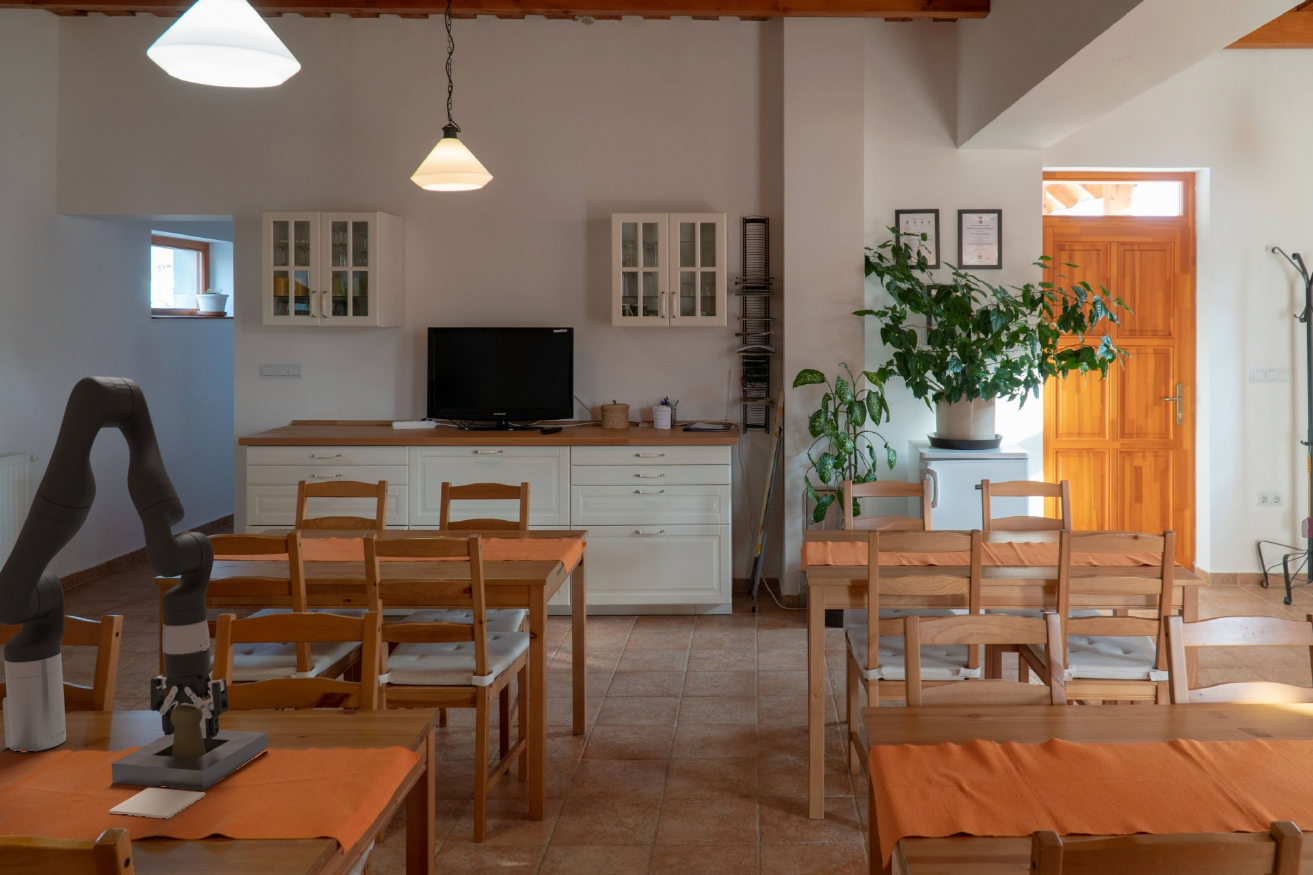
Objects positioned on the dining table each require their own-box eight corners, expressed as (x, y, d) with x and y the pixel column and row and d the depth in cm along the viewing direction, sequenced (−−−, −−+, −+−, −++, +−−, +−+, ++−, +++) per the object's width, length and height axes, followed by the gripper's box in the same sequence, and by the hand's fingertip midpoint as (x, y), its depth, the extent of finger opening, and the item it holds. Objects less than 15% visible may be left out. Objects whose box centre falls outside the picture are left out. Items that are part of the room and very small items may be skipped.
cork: (195, 773, 181) (191, 712, 180) (163, 772, 182) (160, 711, 181) (214, 760, 187) (211, 701, 186) (184, 759, 188) (180, 700, 187)
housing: (112, 783, 177) (111, 763, 177) (183, 744, 195) (182, 726, 194) (203, 791, 173) (202, 771, 173) (267, 751, 191) (266, 733, 190)
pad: (109, 813, 165) (108, 810, 165) (148, 790, 174) (148, 787, 174) (168, 819, 163) (168, 816, 163) (205, 795, 171) (205, 792, 171)
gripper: (136, 650, 180) (141, 740, 181) (207, 654, 177) (212, 746, 178) (166, 638, 188) (171, 725, 189) (235, 642, 184) (239, 730, 185)
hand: (191, 735), depth 183 cm, fingers open, 8 cm apart
